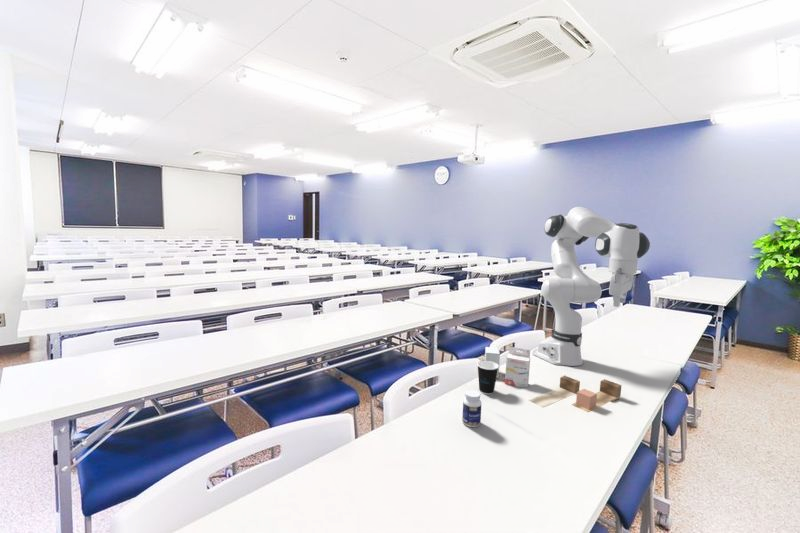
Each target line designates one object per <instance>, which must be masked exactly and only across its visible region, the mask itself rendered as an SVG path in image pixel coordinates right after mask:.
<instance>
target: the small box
mask: <svg viewBox="0 0 800 533" xmlns="http://www.w3.org/2000/svg"><path fill="white" fill-rule="evenodd" d="M484 349H485V350H484V351H485V352H484V361H491V362H494V363H496V364H498V365H499V366H500V363H501V362H500V360H501V358H500V357H501V353H500V349H499V347H493V346H485V348H484ZM499 378H500V367H499V368H498V370H497V376H496V379H499Z"/></svg>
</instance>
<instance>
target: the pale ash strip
mask: <svg viewBox="0 0 800 533" xmlns="http://www.w3.org/2000/svg"><path fill="white" fill-rule="evenodd" d="M580 383H581V382H580V380H578V379H574V378H572V377H570V376H566V375H563V376H561V377H560V378H559V387H557V388H555V389H553V390H550V391H547V392H545V393H543V394H540V395H538V396H535V397H533V398H530V399H528V401H529V402H531V403H534V404H535V405H537V406H540V407H542V408H546V407H548V406H550V405H553V404H554V403H556V402H559V401H561V400H563V399H566V398H568V397H570V396H573V395H574V394H577V392H578V391H580Z"/></svg>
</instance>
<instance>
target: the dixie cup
mask: <svg viewBox="0 0 800 533" xmlns="http://www.w3.org/2000/svg"><path fill="white" fill-rule="evenodd" d="M476 366H477V372H478V373H477V374H478V390H479V393H480V394H484V395H492V394H493V393H494V392H495V387H496V382H497V381H496V380H497V378H496V376H497V370H498V368H499V369H500V364H499V365H498V364H496V363H494V362H491V361H485V360H480V361H478V362H477V363H476Z"/></svg>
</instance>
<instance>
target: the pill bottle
mask: <svg viewBox="0 0 800 533" xmlns="http://www.w3.org/2000/svg"><path fill="white" fill-rule="evenodd" d="M464 397H465V398H464V399H463V402H462V417H461V419H462V420H461V421H462V424H463V425H464V426H466V427H470V428H478V427H479V426H480V425H481V423H482V422H481V419H482V400H480V399H481V392H480V391H477V390H472V389H470V390H466V391H465V394H464Z"/></svg>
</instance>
